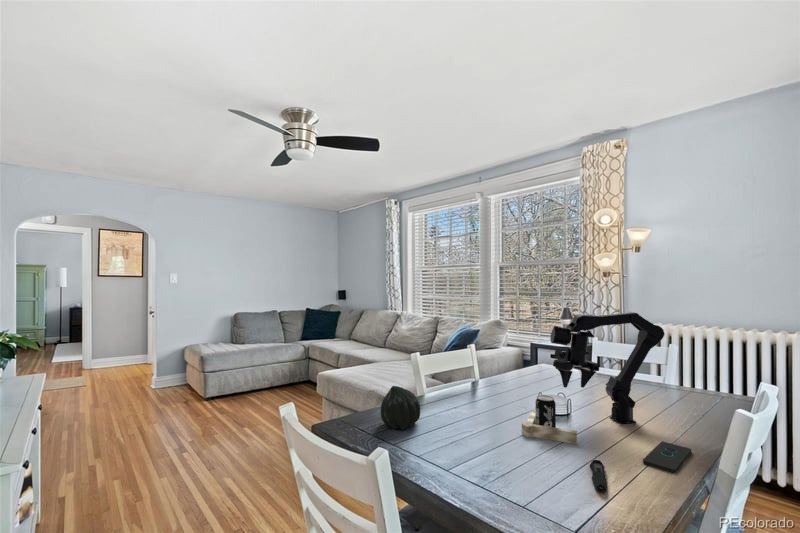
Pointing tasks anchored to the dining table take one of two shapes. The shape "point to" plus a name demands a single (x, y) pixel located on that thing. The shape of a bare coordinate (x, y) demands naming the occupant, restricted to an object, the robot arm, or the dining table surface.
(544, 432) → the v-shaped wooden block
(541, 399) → the beverage can
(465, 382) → the dining table surface
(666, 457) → the smart home device
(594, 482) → the electric trimmer
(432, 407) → the dining table surface
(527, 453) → the dining table surface
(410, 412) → the squash
